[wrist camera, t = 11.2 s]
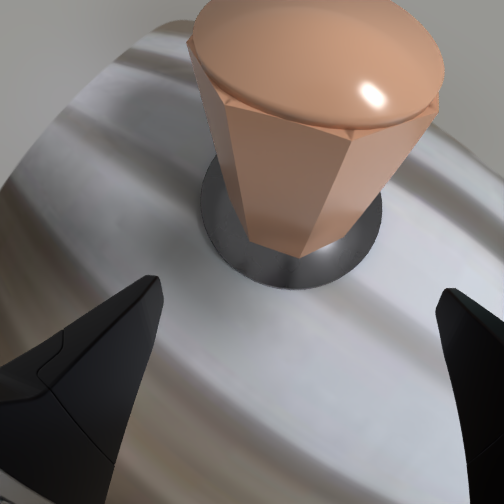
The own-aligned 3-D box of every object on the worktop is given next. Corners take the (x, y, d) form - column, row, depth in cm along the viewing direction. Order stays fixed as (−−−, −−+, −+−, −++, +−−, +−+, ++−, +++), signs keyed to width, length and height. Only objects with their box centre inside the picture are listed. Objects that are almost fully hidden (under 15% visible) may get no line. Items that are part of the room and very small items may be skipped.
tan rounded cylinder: (265, 274, 17) (264, 161, 5) (216, 171, 19) (165, 3, 7) (372, 223, 18) (486, 90, 6) (315, 131, 19) (348, -31, 8)
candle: (308, 329, 17) (324, 330, 12) (166, 211, 19) (139, 178, 14) (407, 192, 19) (438, 157, 14) (277, 101, 21) (278, 54, 16)
